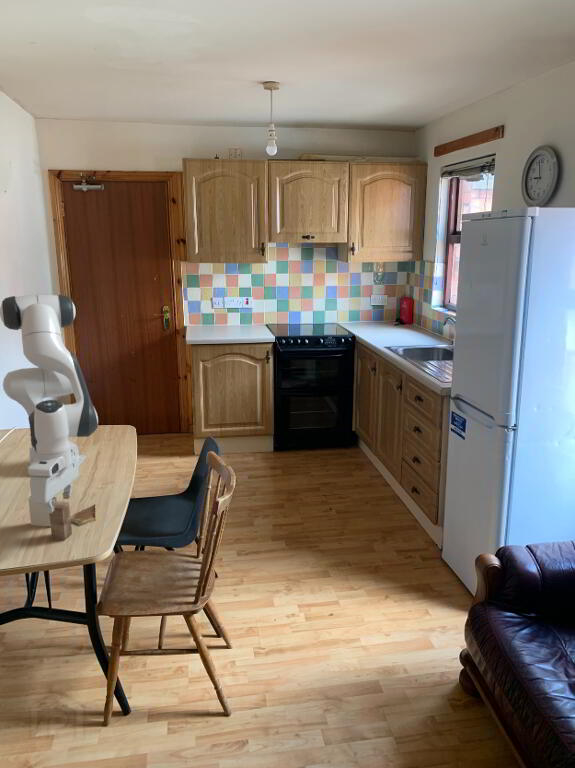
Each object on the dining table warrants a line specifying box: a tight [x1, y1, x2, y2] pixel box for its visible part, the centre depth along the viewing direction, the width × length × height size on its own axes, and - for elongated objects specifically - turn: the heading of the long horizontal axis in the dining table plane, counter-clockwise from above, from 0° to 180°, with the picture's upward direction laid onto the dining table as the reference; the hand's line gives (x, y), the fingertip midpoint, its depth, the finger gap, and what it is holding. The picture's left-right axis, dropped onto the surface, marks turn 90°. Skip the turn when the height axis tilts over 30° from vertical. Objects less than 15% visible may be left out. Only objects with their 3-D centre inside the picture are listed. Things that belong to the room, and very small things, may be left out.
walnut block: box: [49, 501, 73, 541], centre depth 168 cm, size 4×4×10 cm
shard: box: [70, 504, 97, 526], centre depth 181 cm, size 11×8×2 cm
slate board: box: [28, 495, 58, 527], centre depth 174 cm, size 2×8×9 cm, turn 83°
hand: (59, 504), depth 166 cm, fingers open, 8 cm apart
